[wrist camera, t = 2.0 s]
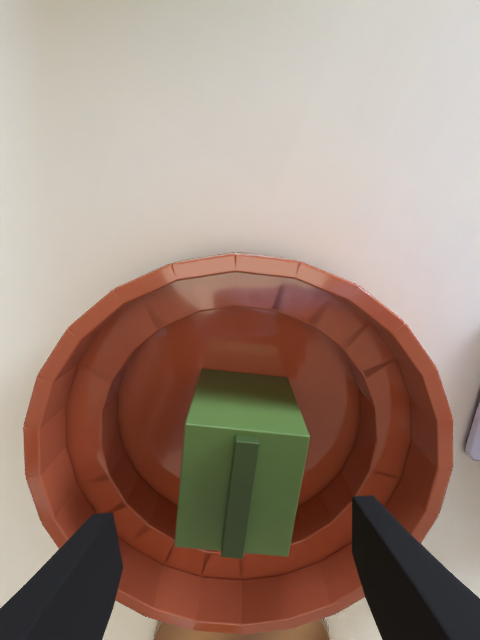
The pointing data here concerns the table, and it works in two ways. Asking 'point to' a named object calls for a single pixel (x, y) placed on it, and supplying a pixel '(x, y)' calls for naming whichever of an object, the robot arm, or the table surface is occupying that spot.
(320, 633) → the coaster
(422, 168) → the table surface
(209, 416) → the green grooved block
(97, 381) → the bowl
